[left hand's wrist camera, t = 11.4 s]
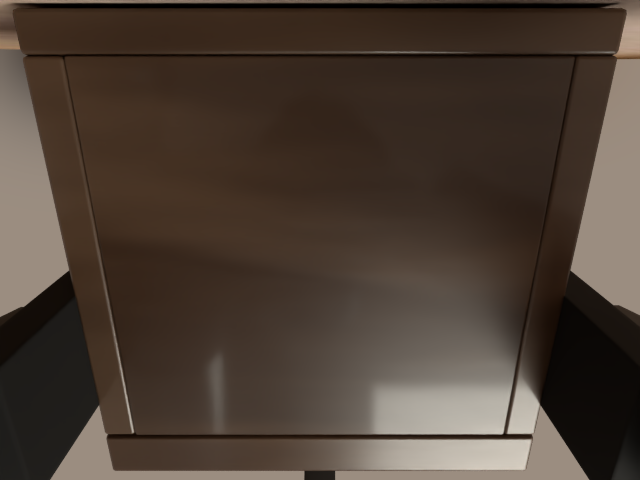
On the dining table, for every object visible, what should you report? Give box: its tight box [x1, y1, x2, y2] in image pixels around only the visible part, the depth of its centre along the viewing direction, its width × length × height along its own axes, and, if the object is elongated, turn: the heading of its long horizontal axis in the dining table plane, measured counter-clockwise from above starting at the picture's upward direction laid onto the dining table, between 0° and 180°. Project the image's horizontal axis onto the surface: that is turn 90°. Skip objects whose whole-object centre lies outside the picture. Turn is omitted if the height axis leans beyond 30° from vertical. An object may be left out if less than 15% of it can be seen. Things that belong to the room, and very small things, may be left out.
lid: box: [107, 433, 533, 471], centre depth 19 cm, size 16×10×8 cm, turn 0°
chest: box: [13, 8, 627, 435], centre depth 16 cm, size 15×10×9 cm, turn 0°
